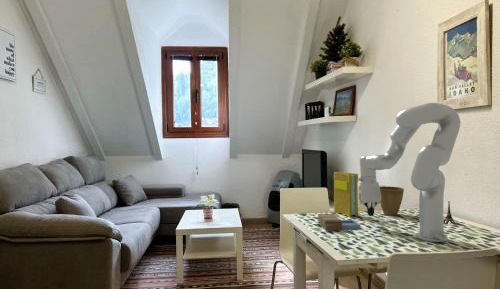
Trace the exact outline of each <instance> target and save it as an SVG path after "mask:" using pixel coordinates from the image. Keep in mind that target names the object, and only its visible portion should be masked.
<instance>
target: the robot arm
mask: <svg viewBox="0 0 500 289" xmlns="http://www.w3.org/2000/svg"><path fill="white" fill-rule="evenodd" d="M395 123H396V124H397V125H396V126H395V127H394V129H393V130H392V132H391V133H390V136H389V137H390V140H391V144H390V147H389V149H388V150H387V151H386V152H385V154H377V155H364V156H362V155H361V156H360V158H359V168H360V170H359V172H360V177H358V182H360V183H359V188H358V199H359V204H360V205H362V206H365V207H366V209H367V210H366V211H367V212H366V213H367V215H368V216H370V217H374V215H375V208H376V206H377V205H379V204H380V203H381V192H380V187H381V186H380V182H378V181H377V171H383V170H391V169H392V168H393V167H395V166H396V165H397V163H398V162H399V161H400V159H401V158H402V157H403V154H404V153H405V150H406V146H407V145H408V143H409V141H410V140H411V139H412V137H413V136H414V135H415V134H416V132H418V130H419V129H420V127H421V126H422V125H425V124H426V125H427V124H431V123H433V124H437V127H436V128H437V129H436V130H435V132H434V134H433V138H432V140H431V143H430V144H428V145H425V146H423V147H422V148H421V149H420V150H419V151H418V154H417V156H416V159H415V162H414V166H413V168H412V172H411V176H410V184H411V185H412V186H413V188H415V189H416V190H418V191H419V198H418V199H419V200H418V201H419V204H418V206H419V210H418V211H419V214H418V215H419V218H418V219H419V232H418V233H416V234H415V237H416V239H419V240H421V241H427V242H431V243H432V242H433V243H442V242H447V241H449V237H448V236H447V235H445V230H444V228H445V227H444V226H445V224H444V219H445V218H444V193H445V186H446V177H445V175H444V172H442V171H441V170H440V167H442V166H445V165H447V164H448V163H449V161H450V160H451V159H450V158H451V156H452V154H453V153H452V152H453V149H454V147H455V144H456V141H457V137H458V134H459V132H460V128H461V118H460V115H459V113H458V112H457V111H456V110H455V109H454V108H452V106H449V105H448V104H443V103H438V102H427V103H424V104H419V105H416V106H412V107H409V108H406V109H402V110H401V111H399V112H398V113H397V115H396V116H395ZM380 205H381V204H380Z"/></svg>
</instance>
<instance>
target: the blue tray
mask: <svg viewBox="0 0 500 289" xmlns="http://www.w3.org/2000/svg"><path fill="white" fill-rule="evenodd" d="M340 220H341V221H342V230H361V224H360V223H358V222H357V221H356V220H353V219H340Z"/></svg>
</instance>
